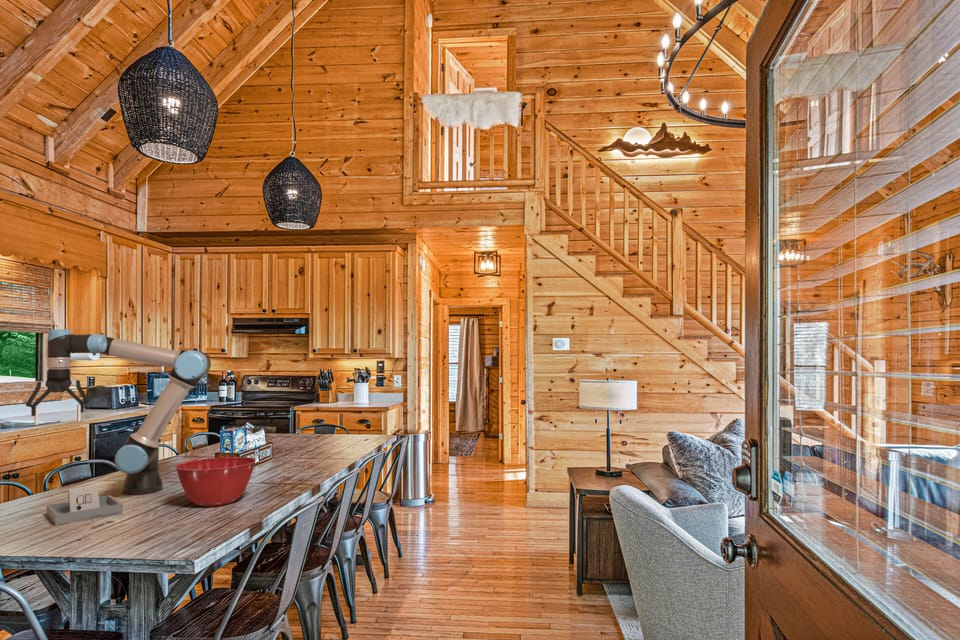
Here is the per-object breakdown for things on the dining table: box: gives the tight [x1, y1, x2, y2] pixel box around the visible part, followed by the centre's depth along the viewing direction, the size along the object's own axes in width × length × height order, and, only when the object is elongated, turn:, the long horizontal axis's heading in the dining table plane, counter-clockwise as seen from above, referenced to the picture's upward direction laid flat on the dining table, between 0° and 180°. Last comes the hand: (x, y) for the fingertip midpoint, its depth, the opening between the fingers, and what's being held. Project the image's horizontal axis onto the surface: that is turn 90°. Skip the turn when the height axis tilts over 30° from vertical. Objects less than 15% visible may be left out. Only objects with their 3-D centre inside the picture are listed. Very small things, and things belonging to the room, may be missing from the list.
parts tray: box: [46, 494, 124, 526], centre depth 214 cm, size 20×20×4 cm
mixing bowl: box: [175, 456, 257, 508], centre depth 228 cm, size 28×28×16 cm
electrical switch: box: [67, 484, 100, 512], centre depth 214 cm, size 9×5×9 cm, turn 141°
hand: (57, 422), depth 230 cm, fingers open, 13 cm apart
